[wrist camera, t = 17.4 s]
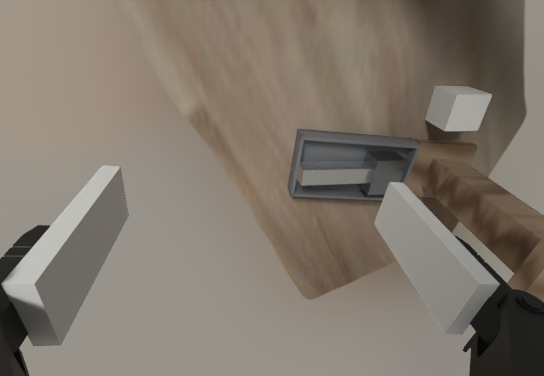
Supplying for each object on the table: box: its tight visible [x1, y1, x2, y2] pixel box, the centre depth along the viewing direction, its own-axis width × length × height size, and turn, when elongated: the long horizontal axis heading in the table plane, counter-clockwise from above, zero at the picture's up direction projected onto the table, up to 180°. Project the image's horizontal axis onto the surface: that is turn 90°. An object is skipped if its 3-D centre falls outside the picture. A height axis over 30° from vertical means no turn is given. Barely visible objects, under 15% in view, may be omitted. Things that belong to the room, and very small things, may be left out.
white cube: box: [425, 86, 492, 131], centre depth 50 cm, size 6×6×6 cm
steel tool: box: [296, 151, 408, 195], centre depth 53 cm, size 7×19×4 cm, turn 84°
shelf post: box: [405, 139, 544, 302], centre depth 46 cm, size 12×13×30 cm
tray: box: [288, 129, 421, 201], centre depth 55 cm, size 12×22×4 cm, turn 83°
